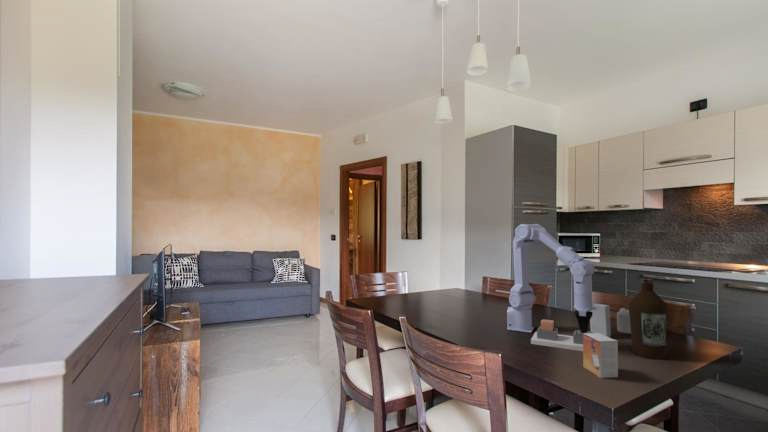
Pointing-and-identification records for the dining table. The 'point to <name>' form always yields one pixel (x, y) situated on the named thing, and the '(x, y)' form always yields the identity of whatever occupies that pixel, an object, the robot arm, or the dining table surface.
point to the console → (558, 339)
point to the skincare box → (600, 319)
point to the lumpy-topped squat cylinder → (623, 321)
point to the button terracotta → (547, 325)
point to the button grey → (581, 332)
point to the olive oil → (648, 322)
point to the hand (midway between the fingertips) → (583, 332)
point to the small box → (600, 355)
